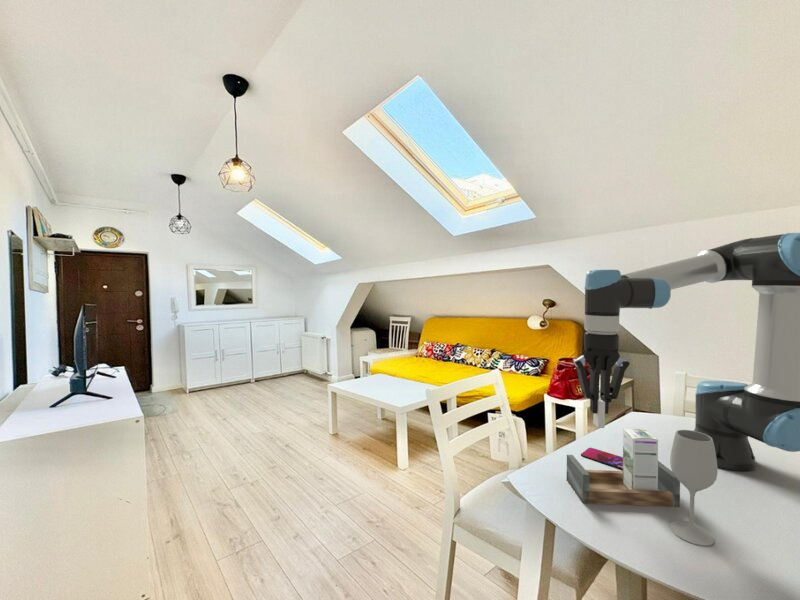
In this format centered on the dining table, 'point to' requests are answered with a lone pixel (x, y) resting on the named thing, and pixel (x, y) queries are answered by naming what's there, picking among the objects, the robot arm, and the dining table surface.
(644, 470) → the syrup box
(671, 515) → the dining table surface
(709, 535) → the wineglass
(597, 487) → the track
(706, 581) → the dining table surface
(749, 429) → the robot arm
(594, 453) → the smartphone
